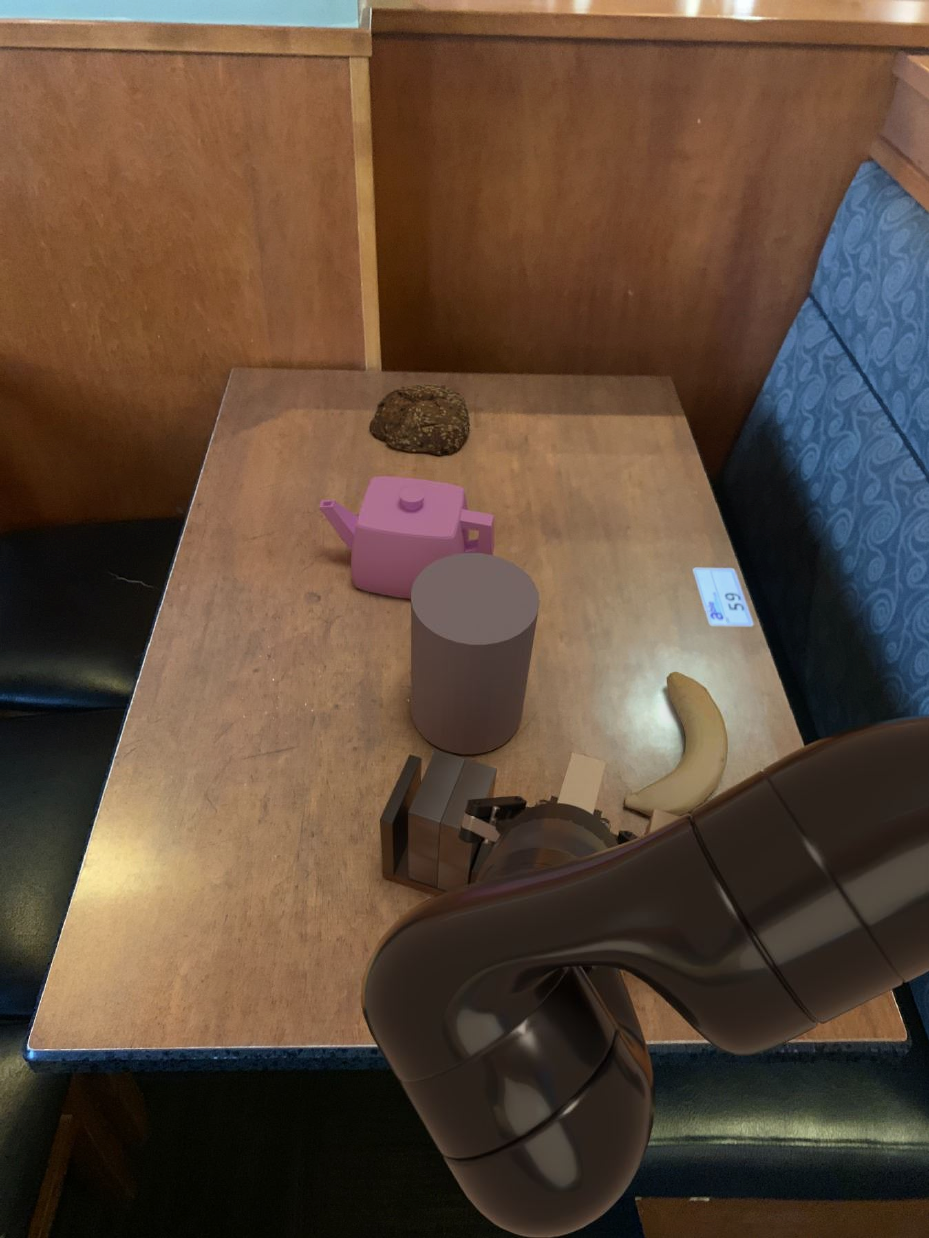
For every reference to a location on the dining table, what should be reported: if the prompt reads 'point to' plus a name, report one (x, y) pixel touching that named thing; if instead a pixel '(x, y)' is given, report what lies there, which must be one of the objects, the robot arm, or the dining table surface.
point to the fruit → (688, 753)
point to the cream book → (582, 782)
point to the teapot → (406, 531)
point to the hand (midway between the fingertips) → (572, 816)
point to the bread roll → (422, 419)
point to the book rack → (441, 823)
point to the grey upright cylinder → (471, 650)
